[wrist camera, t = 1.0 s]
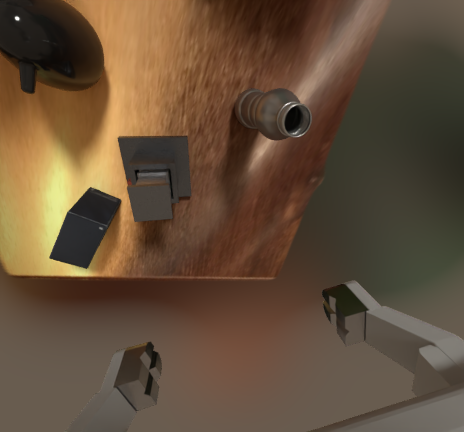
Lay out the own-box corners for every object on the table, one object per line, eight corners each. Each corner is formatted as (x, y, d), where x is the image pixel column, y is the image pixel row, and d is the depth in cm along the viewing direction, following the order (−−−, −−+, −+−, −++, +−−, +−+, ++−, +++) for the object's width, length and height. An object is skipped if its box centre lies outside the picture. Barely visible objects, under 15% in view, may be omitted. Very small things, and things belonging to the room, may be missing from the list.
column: (141, 157, 41) (126, 187, 28) (170, 156, 42) (168, 185, 29) (146, 183, 43) (134, 221, 31) (173, 182, 44) (172, 218, 32)
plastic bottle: (246, 133, 44) (289, 161, 28) (224, 105, 41) (259, 117, 24) (270, 110, 43) (332, 125, 26) (251, 79, 40) (307, 73, 23)
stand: (119, 136, 40) (105, 148, 32) (186, 135, 42) (189, 147, 34) (132, 196, 46) (123, 219, 38) (190, 193, 48) (194, 214, 40)
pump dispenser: (39, 84, 34) (-44, 82, 21) (22, -6, 29) (-98, -79, 16) (112, 98, 37) (79, 104, 24) (108, 19, 32) (64, -27, 19)
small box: (88, 184, 43) (65, 210, 34) (122, 199, 46) (110, 225, 37) (70, 226, 46) (46, 259, 37) (103, 237, 49) (88, 270, 40)
